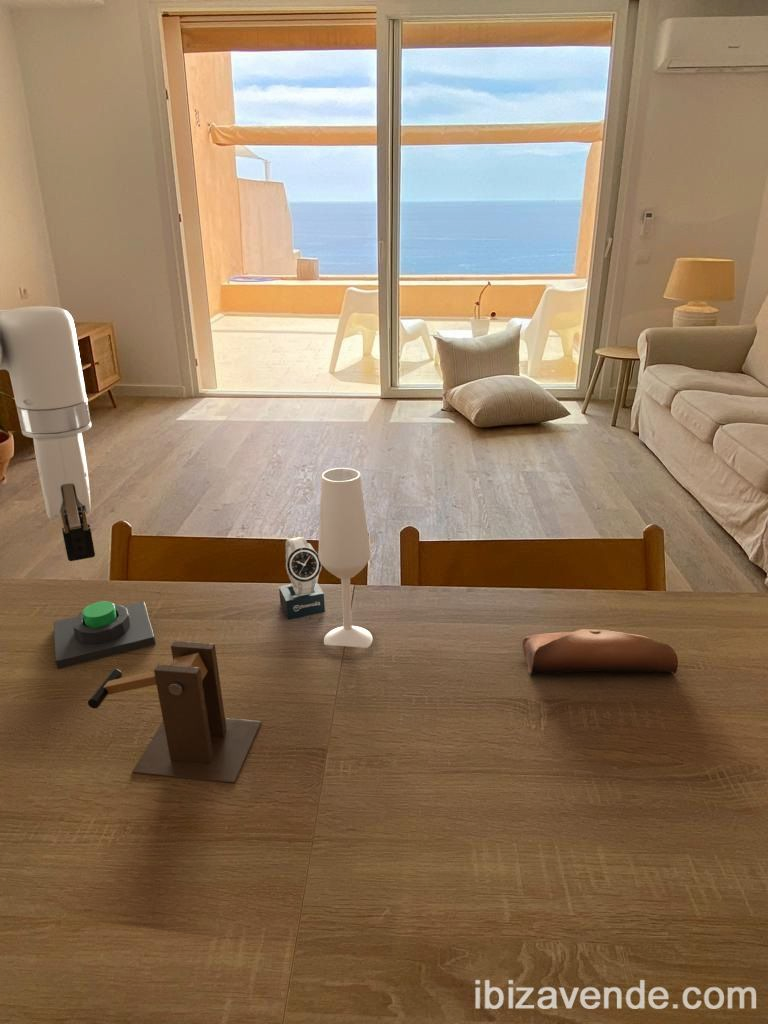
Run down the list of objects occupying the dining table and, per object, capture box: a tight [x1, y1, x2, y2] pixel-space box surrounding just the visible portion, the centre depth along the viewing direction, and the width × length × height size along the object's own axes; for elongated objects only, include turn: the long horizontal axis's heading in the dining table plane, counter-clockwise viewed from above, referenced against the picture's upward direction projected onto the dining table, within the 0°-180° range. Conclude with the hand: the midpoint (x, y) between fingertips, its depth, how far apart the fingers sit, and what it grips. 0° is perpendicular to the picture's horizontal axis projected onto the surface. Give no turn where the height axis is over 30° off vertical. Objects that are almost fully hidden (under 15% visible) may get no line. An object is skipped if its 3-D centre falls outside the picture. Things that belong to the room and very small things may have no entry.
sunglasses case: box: [522, 628, 679, 675], centre depth 88 cm, size 18×7×7 cm
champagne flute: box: [317, 467, 374, 649], centre depth 89 cm, size 7×7×24 cm
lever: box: [87, 653, 208, 709], centre depth 72 cm, size 12×5×2 cm, turn 81°
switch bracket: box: [131, 640, 262, 784], centre depth 72 cm, size 11×9×13 cm
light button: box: [82, 600, 117, 628], centre depth 92 cm, size 4×4×2 cm
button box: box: [53, 600, 157, 670], centre depth 94 cm, size 12×10×4 cm
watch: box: [278, 536, 326, 621], centre depth 99 cm, size 6×8×11 cm
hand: (81, 556), depth 88 cm, fingers closed
